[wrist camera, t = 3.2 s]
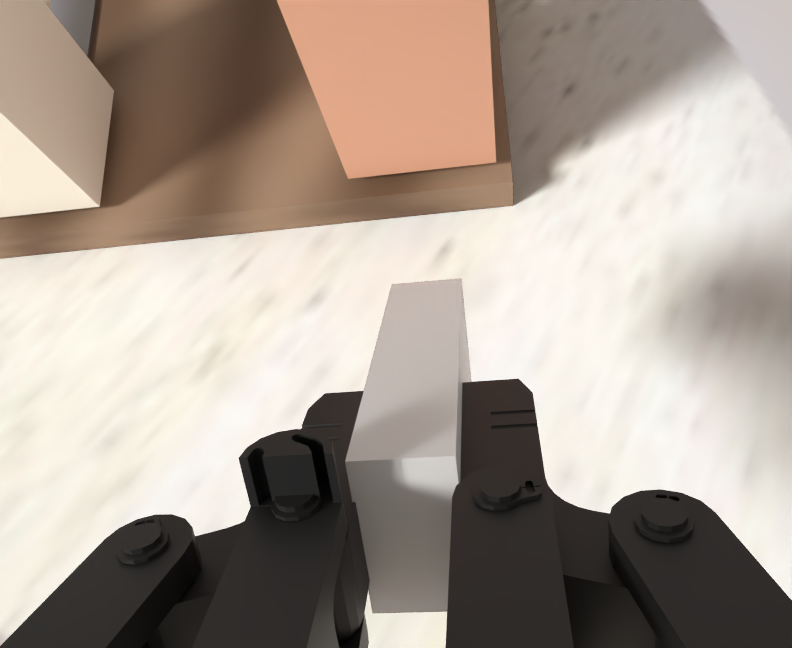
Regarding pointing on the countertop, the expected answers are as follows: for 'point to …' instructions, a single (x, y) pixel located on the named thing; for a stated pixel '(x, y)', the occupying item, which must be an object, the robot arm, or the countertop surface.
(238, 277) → the countertop surface
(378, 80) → the tall salmon pillar
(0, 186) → the tall white pillar
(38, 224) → the walnut track board
